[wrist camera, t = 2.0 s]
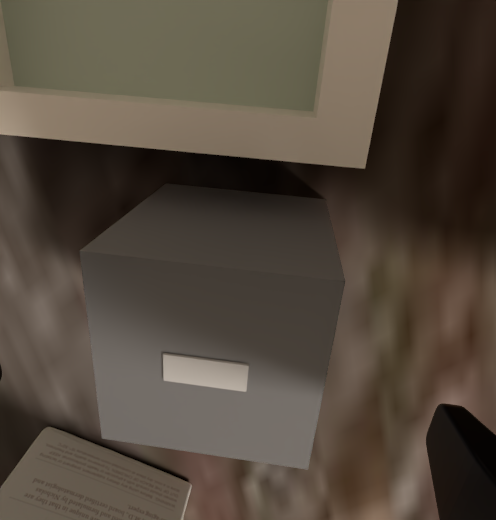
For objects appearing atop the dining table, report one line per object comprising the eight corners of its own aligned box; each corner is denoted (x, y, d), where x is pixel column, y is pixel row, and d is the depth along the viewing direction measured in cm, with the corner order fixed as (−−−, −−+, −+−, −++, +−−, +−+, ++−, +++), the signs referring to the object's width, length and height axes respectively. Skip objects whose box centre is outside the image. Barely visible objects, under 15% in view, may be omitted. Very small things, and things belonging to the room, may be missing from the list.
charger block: (325, 198, 12) (345, 282, 7) (304, 333, 14) (307, 471, 9) (166, 182, 12) (77, 252, 7) (168, 316, 15) (100, 440, 10)
